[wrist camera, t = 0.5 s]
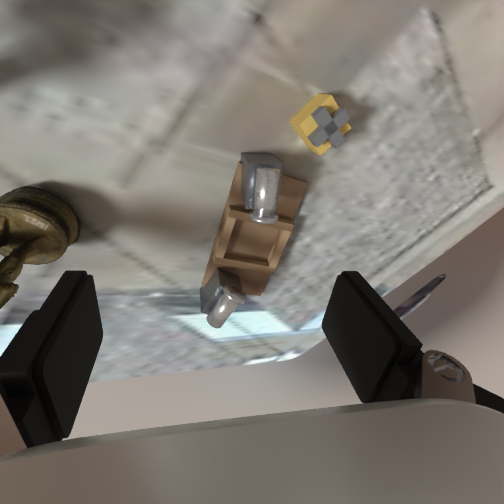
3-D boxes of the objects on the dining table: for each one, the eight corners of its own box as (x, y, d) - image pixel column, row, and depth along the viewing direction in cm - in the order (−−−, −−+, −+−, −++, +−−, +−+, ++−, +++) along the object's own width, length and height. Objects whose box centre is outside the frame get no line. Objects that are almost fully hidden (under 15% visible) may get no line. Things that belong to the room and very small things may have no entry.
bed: (238, 161, 40) (241, 166, 38) (306, 181, 44) (312, 187, 41) (201, 283, 50) (202, 293, 48) (259, 292, 53) (262, 302, 51)
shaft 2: (241, 152, 40) (253, 170, 32) (271, 153, 41) (290, 170, 33) (239, 198, 43) (249, 224, 35) (267, 198, 44) (283, 223, 36)
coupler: (288, 121, 39) (303, 127, 34) (317, 93, 38) (337, 95, 33) (308, 148, 41) (325, 158, 36) (336, 123, 40) (357, 129, 35)
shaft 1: (221, 297, 52) (226, 335, 44) (200, 289, 50) (201, 327, 43) (240, 270, 50) (249, 305, 42) (219, 260, 48) (224, 295, 40)
